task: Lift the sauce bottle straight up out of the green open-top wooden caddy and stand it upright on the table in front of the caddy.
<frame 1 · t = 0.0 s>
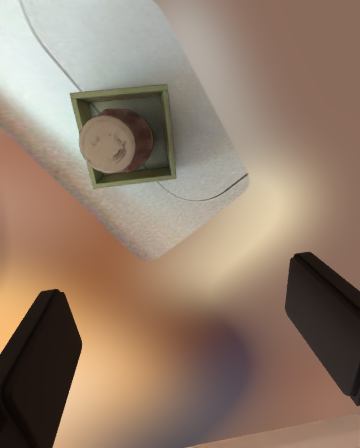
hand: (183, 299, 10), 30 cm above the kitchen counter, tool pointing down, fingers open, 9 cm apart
sauce bottle: (131, 137, 35), resting in caddy
caddy: (131, 137, 35), on the kitchen counter
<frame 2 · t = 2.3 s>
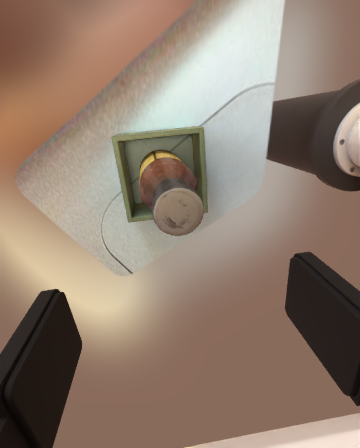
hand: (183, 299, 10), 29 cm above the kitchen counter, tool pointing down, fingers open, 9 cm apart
sauce bottle: (161, 169, 37), resting in caddy
caddy: (161, 169, 36), on the kitchen counter
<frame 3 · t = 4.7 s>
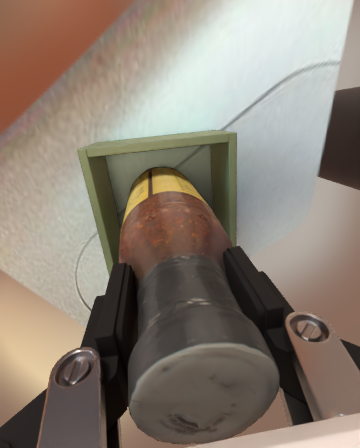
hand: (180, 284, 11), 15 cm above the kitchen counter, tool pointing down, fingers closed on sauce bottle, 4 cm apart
sauce bottle: (163, 194, 24), resting in caddy, touching gripper
caddy: (163, 194, 24), on the kitchen counter
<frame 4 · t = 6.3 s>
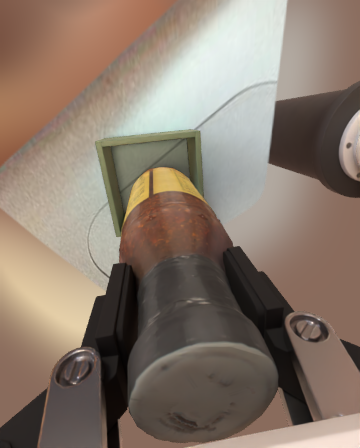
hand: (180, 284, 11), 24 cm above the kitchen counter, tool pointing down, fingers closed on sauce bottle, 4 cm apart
sauce bottle: (164, 193, 24), point 9 cm above the kitchen counter, touching gripper
caddy: (153, 176, 33), on the kitchen counter
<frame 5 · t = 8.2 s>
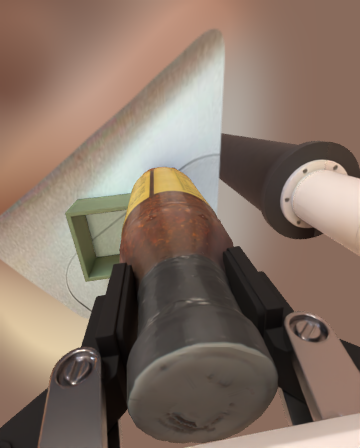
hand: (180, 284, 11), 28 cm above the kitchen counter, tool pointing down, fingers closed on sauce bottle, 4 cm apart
sauce bottle: (165, 193, 24), point 14 cm above the kitchen counter, touching gripper
caddy: (120, 227, 40), on the kitchen counter
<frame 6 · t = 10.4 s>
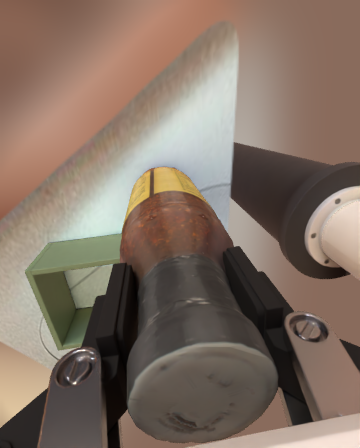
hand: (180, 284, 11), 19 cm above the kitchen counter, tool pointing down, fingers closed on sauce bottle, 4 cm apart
sauce bottle: (165, 193, 24), point 4 cm above the kitchen counter, touching gripper
caddy: (104, 274, 32), on the kitchen counter
when the fingers open (15 cm above the kitchen counter, at t = 11.7 s): sauce bottle stays where it is, on the kitchen counter.
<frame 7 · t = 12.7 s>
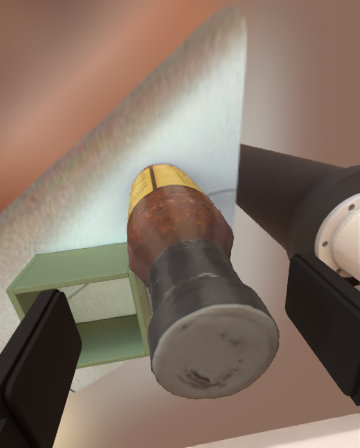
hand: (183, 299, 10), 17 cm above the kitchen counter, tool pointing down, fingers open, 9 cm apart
sauce bottle: (163, 190, 25), on the kitchen counter
caddy: (98, 288, 29), on the kitchen counter
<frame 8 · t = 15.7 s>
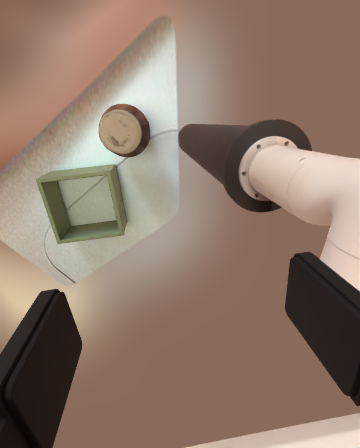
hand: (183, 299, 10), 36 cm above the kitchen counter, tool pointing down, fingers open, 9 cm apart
sauce bottle: (130, 129, 41), on the kitchen counter
caddy: (90, 198, 44), on the kitchen counter
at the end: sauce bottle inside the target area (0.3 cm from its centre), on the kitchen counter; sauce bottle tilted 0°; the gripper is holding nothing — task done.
